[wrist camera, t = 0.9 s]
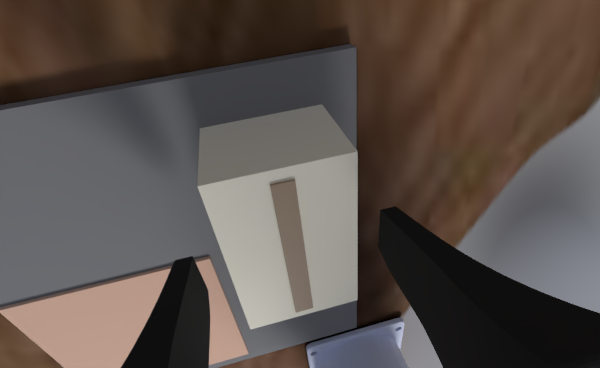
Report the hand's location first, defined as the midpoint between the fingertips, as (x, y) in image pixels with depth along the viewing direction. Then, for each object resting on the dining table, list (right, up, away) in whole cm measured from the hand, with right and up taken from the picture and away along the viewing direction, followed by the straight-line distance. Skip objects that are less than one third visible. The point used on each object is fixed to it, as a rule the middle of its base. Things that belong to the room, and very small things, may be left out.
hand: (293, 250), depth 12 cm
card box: (-1, +2, +3) cm, 4 cm away
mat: (-5, -2, +5) cm, 8 cm away
